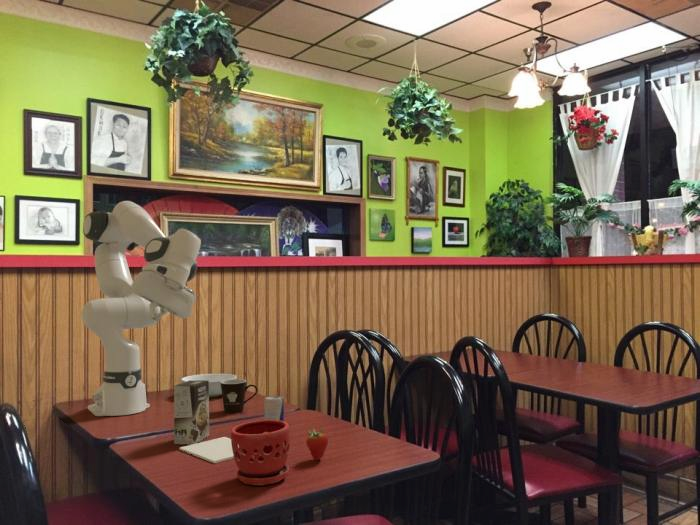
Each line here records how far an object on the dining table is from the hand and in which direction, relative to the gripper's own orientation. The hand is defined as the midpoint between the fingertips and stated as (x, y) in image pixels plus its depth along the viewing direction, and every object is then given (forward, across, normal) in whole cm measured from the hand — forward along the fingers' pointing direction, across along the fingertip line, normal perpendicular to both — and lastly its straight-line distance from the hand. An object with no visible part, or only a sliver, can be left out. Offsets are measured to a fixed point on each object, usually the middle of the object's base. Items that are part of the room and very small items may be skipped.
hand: (153, 319), depth 176 cm
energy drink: (+23, -30, +33) cm, 50 cm away
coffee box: (+29, -18, +14) cm, 37 cm away
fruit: (+26, -26, +54) cm, 65 cm away
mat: (+30, -17, +28) cm, 44 cm away
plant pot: (+34, -10, +53) cm, 64 cm away
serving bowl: (+7, -55, -35) cm, 65 cm away
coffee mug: (+14, -45, -4) cm, 47 cm away
